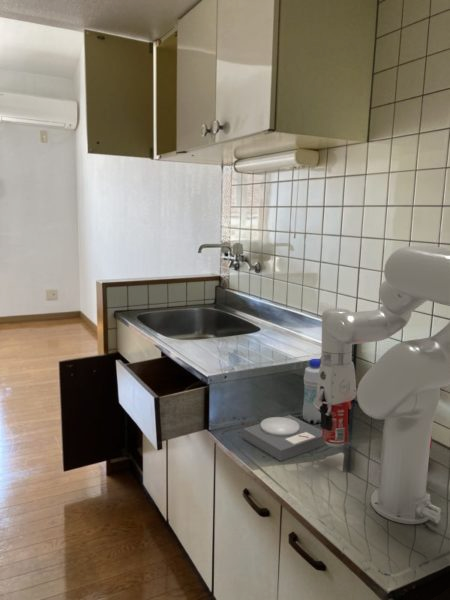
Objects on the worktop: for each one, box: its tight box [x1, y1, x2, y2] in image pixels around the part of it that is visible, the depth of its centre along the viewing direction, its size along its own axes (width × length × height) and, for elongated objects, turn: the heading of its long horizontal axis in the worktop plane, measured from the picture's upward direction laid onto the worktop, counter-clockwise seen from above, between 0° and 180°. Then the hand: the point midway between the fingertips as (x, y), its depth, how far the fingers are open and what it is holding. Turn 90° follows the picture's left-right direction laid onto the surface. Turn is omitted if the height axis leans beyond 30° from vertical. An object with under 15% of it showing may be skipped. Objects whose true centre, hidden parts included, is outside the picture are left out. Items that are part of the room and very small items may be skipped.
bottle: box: [302, 358, 321, 424], centre depth 148 cm, size 7×7×20 cm
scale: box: [242, 414, 328, 462], centre depth 135 cm, size 16×18×4 cm
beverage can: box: [322, 402, 349, 447], centre depth 123 cm, size 6×6×12 cm
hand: (335, 425), depth 123 cm, fingers closed on beverage can, 6 cm apart
